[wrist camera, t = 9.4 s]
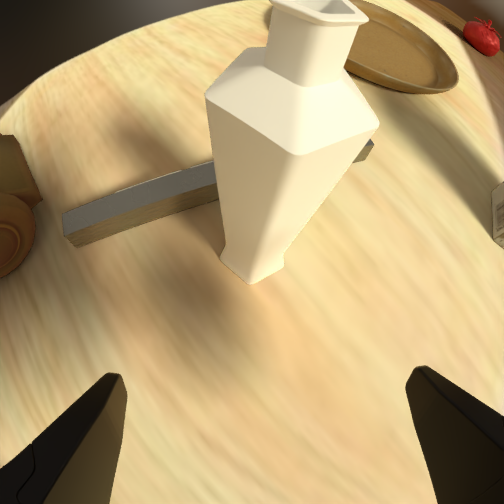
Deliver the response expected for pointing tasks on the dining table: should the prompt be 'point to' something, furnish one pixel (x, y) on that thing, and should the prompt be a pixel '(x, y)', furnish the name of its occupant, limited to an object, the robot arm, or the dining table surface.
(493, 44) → the pomegranate
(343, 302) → the dining table surface
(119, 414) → the robot arm
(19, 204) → the wooden toy train
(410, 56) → the plant saucer
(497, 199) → the coffee box
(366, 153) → the rail
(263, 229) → the cream angular vase
